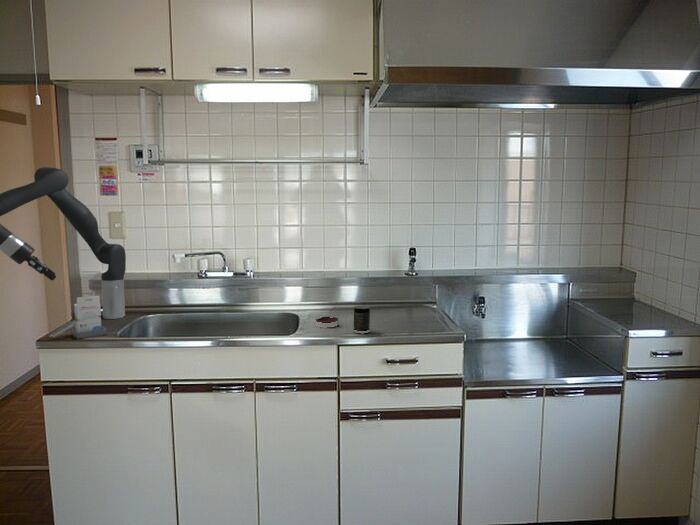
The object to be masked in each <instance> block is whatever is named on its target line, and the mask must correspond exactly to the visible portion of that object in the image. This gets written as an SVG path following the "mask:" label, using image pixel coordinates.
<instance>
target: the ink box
mask: <svg viewBox="0 0 700 525" xmlns="http://www.w3.org/2000/svg"><path fill="white" fill-rule="evenodd" d="M100 298H101V297H100V295H91V296H90V295H89V296H79V297H78V296H77V297H76V303H74V305H73V306H74V308H73V309H74V325H75V326H74V327H75V330H76V331H77V332H85V331H92V330H100V329H101V326H102V316H101V315H102V313H101V301H100V300H101V299H100Z"/></svg>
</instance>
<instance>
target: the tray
mask: <svg viewBox="0 0 700 525" xmlns="http://www.w3.org/2000/svg"><path fill="white" fill-rule="evenodd" d="M70 331H71V336H72V335H73V337H74V338H75V337H76V338H75V339H77V338H83V339H88V338H87V337H90V338H96V337H103V336H107V335H108V328H107V327H105V326H102V325H101V329H100V330H92V331H85V332H77V331H76V330H75V328H71V330H70Z"/></svg>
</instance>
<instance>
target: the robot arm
mask: <svg viewBox="0 0 700 525" xmlns="http://www.w3.org/2000/svg"><path fill="white" fill-rule="evenodd" d="M33 178H34V181H33V182H30V183H28V184H25V185H22V186H18V187H15V188H12V189H11V188H10V189H8V190H6V191H3V192H1V193H0V217H1V216H5V215H6V214H8V213H10V212H12V211H15V210H17V209H18V208H20V207H22V206H24V205H26V204H28V203H31V202H33V201H35V200H37V199H40V198H43V197H45V196H47V197H48V198H49V199H50V200H51V201H52V202H53V203H54V204H55V206H56V207H57V208H58V209H59V210H60V212H61V214H62V215H63V216H64V217H65V218H66V219H67V221H68V222H69V223H70V225H71V226H72V227H73V228H74V229H75V231H76V232H77V233H78V234H79V236H81V238H82V239H83V240H84V241H85V243H86V244H87V245H88V246H89V248H90V249H91V251H92V253H93V255H94V256H95V258H96V259H97V260H98V261H99V262H100V263H101V264H104V265H108V267H107V270H106V271H104V272H103V273H101V276H100V278H101V301H102V319H105V320H114V319H122V318H125V317H126V308H125V307H126V305H125V303H126V300H125V279H124V278H125V277H124V276H125V273H126V266H127V265H126V263H127V261H126V259H127V255H126V250H125V247H124V246H122V245H121V244H117V243H108V242H107V241H106V240H105V238H103V236H102V235H101V233H100V231H99V225H98V220H97V218H96V216H95V215H94V214H93V213H92V212H91V210H90V209H89V208H88V206H86V205H85V204H84V203H83V202H82V201H80V200H79V199H77V198H76V197H75V196H74V195H72V194H71V193H70V192H69V191H68V190H67V189H66V187H68V184H69V176H68V174H67V172H65V171H64V170H62V169H61V168H56V167H48V166H47V167H46V166H44V167H39V168H38V169H37V170H35V172H34V175H33ZM35 251H36V250H35V248H33V247H32V246H31V245H30V244H29V243H27V242H26V241H24V240H23V239H22V238H21V237H19V236H17V235H16V234H14V233H13V232H11V230H9V229H8V228H7V227H6V226H4V225H3V224H1V223H0V252H2V253H3V254H4V255H6V256H7V257H9V259H11V260H12V261H13V262H15V263H16V264H18V265H21V264H23V263H24V262H27V265H28V267H29V268H31V269H33V270H35V272H37V273H39V274H40V275H43V276H45V277H46V278H48V279H49V280H50V281H51V282H52V281H54V280H55V279H56V278H57V275H56V273H55V272H54V271H53V270H52V269H50V268H49V267H48V266H47V265H46V263H45V262H43V261H42V260H41V259H40V258H39V257H38V256H35V255H32V254H33V253H34V252H35ZM124 316H125V317H124Z"/></svg>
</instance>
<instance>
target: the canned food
mask: <svg viewBox="0 0 700 525" xmlns="http://www.w3.org/2000/svg"><path fill="white" fill-rule="evenodd" d="M336 308H337V307H336V306H335V307H333V308H332V309H330V310H329V311H328V312H326V313H324V314H321V315H320V316H317V317H316V318H315V319H314V320H316V321H317V322H322V323H331V322H336V321H338V322H339V318H338V317H336V316H335V317H334V316H332V317H333V318H330V317H331V316H327V315H328V314H329V313H330V312H332V311H333V310H335V309H336Z"/></svg>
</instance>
